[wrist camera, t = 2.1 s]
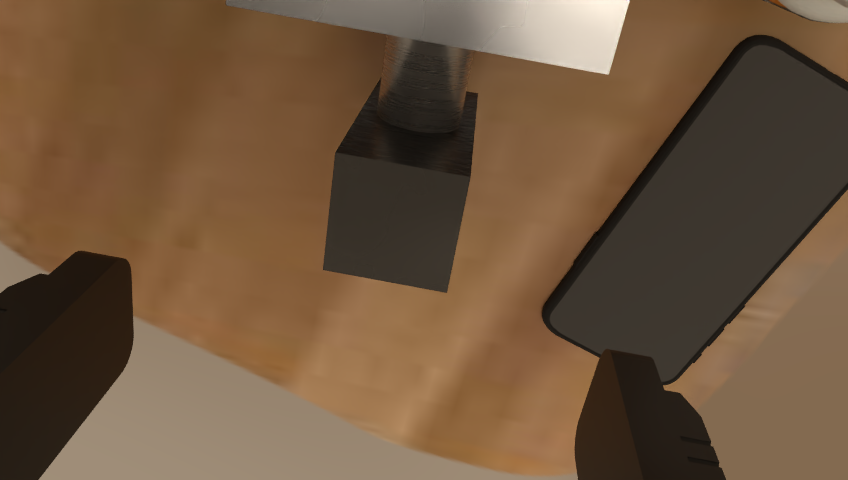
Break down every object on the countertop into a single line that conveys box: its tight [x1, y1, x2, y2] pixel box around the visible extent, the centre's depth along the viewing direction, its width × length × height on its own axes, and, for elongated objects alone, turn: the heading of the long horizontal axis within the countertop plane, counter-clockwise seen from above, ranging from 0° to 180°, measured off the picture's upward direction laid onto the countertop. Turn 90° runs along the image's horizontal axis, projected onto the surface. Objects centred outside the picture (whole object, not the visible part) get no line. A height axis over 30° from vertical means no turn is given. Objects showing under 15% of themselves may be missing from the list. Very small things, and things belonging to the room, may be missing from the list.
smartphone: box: [542, 35, 848, 385], centre depth 29 cm, size 7×1×15 cm
